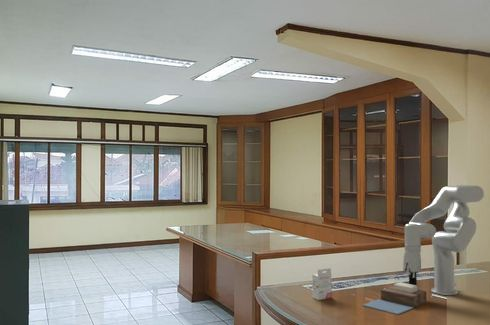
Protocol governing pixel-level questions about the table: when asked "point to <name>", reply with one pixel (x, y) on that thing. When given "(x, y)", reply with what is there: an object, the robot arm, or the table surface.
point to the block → (405, 287)
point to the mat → (388, 306)
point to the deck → (403, 297)
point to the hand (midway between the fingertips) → (412, 285)
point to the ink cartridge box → (322, 284)
